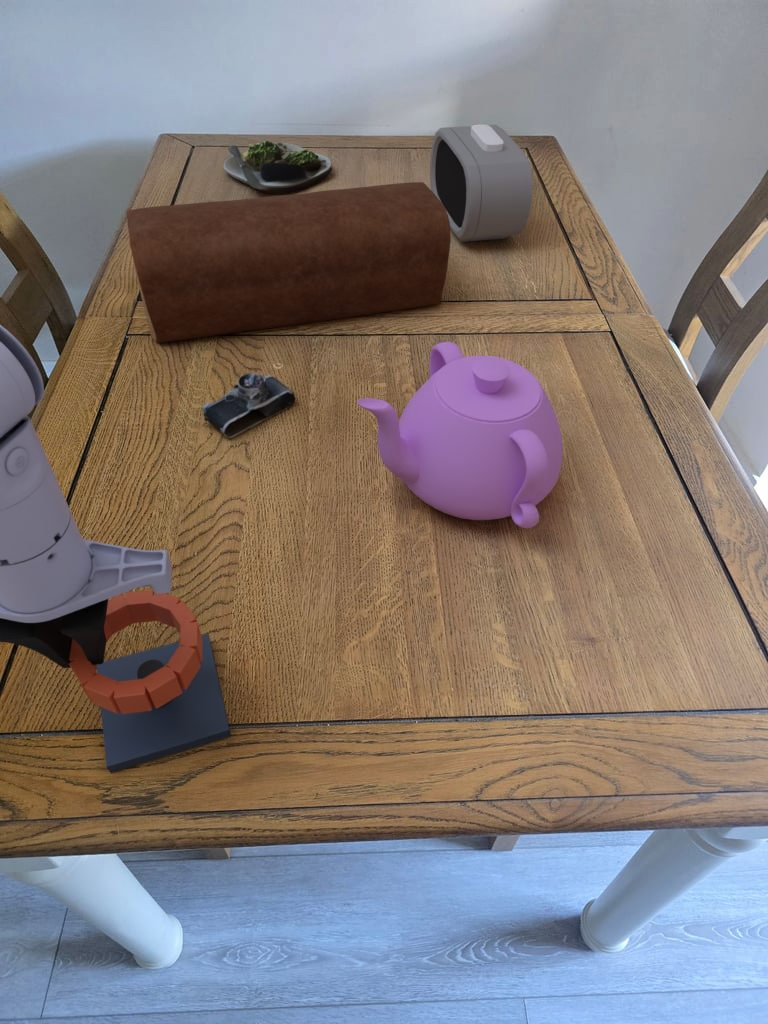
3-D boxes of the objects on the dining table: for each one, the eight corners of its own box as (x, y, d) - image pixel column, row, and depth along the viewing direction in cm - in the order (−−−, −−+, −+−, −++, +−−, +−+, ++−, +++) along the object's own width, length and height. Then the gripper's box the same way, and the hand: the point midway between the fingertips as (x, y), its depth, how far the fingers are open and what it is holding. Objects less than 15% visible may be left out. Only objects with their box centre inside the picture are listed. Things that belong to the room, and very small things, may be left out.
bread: (446, 310, 96) (457, 213, 86) (153, 351, 88) (128, 248, 78) (410, 255, 106) (417, 162, 96) (144, 287, 97) (120, 189, 88)
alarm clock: (426, 197, 120) (433, 110, 110) (479, 193, 121) (490, 107, 111) (463, 257, 106) (474, 164, 96) (522, 251, 108) (539, 160, 98)
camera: (197, 420, 79) (191, 390, 76) (272, 383, 84) (269, 353, 81) (223, 443, 77) (218, 413, 74) (298, 404, 82) (296, 374, 79)
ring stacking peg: (110, 773, 52) (92, 744, 49) (100, 670, 58) (83, 638, 54) (231, 736, 55) (222, 706, 51) (210, 641, 60) (201, 607, 56)
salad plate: (195, 169, 124) (190, 141, 120) (271, 142, 133) (269, 116, 130) (269, 205, 116) (266, 176, 112) (345, 174, 125) (345, 146, 121)
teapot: (319, 441, 78) (313, 333, 67) (490, 395, 84) (509, 290, 74) (405, 592, 64) (414, 486, 54) (600, 523, 71) (642, 416, 61)
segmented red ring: (71, 720, 47) (60, 704, 46) (87, 615, 53) (78, 596, 51) (201, 705, 48) (195, 688, 47) (203, 603, 54) (198, 584, 52)
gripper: (155, 465, 43) (192, 595, 53) (-102, 485, 41) (-13, 617, 51) (147, 555, 38) (190, 680, 48) (-144, 583, 36) (-36, 706, 46)
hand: (85, 653), depth 49 cm, fingers closed on segmented red ring, 1 cm apart
